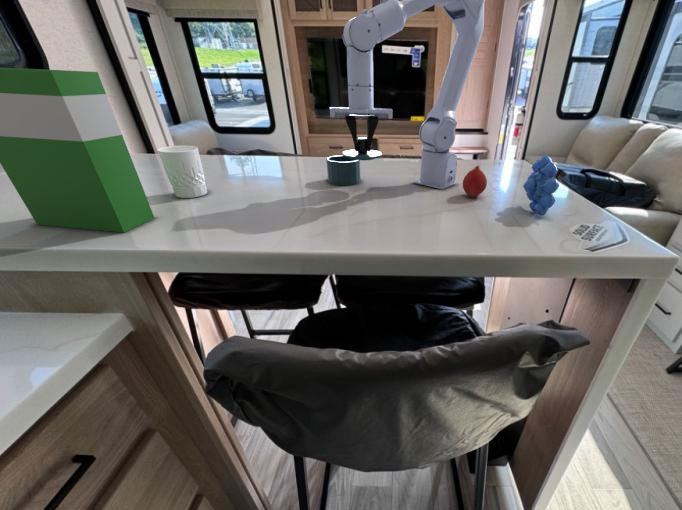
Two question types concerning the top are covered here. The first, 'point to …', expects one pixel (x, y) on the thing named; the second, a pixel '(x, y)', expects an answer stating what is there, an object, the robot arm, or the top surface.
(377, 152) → the lid
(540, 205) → the grapes
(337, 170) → the pot
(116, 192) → the hardback book
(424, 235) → the top surface
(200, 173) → the white cup
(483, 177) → the onion
